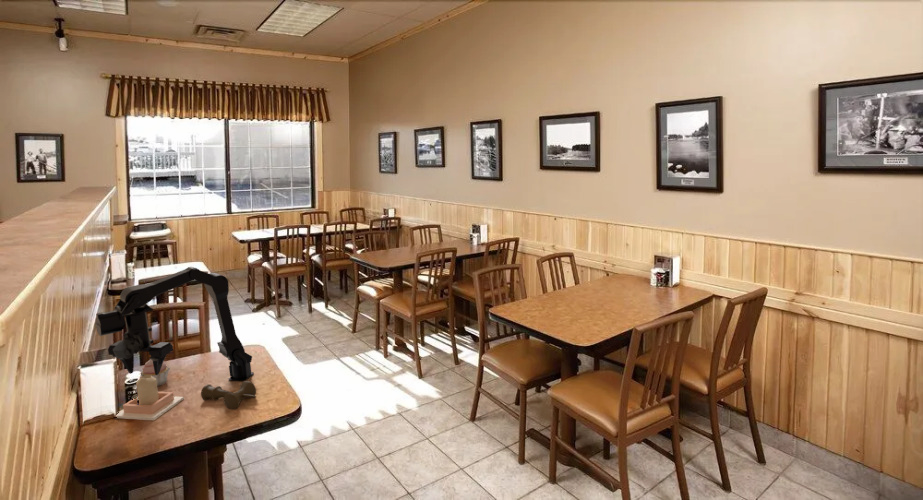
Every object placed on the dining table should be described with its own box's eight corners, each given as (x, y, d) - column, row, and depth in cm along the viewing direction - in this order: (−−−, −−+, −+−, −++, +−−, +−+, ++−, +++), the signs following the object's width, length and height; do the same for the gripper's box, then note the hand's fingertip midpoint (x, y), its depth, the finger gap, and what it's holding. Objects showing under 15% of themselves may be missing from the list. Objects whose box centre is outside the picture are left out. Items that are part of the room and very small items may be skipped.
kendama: (216, 393, 182) (266, 398, 176) (196, 407, 173) (248, 412, 167) (214, 377, 181) (264, 381, 175) (193, 390, 172) (245, 395, 166)
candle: (150, 410, 168) (146, 381, 166) (135, 409, 169) (131, 379, 167) (163, 402, 173) (159, 373, 171) (148, 400, 174) (144, 372, 172)
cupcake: (161, 375, 196) (158, 350, 194) (177, 380, 191) (173, 354, 189) (136, 385, 188) (131, 359, 186) (151, 391, 183) (147, 364, 181)
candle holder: (183, 399, 177) (182, 389, 176) (153, 420, 163) (152, 410, 163) (146, 396, 179) (144, 387, 178) (113, 417, 165) (112, 408, 165)
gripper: (89, 335, 159) (97, 383, 162) (145, 337, 156) (152, 386, 159) (118, 323, 170) (125, 368, 173) (171, 324, 167) (177, 371, 170)
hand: (144, 373), depth 169 cm, fingers open, 9 cm apart
